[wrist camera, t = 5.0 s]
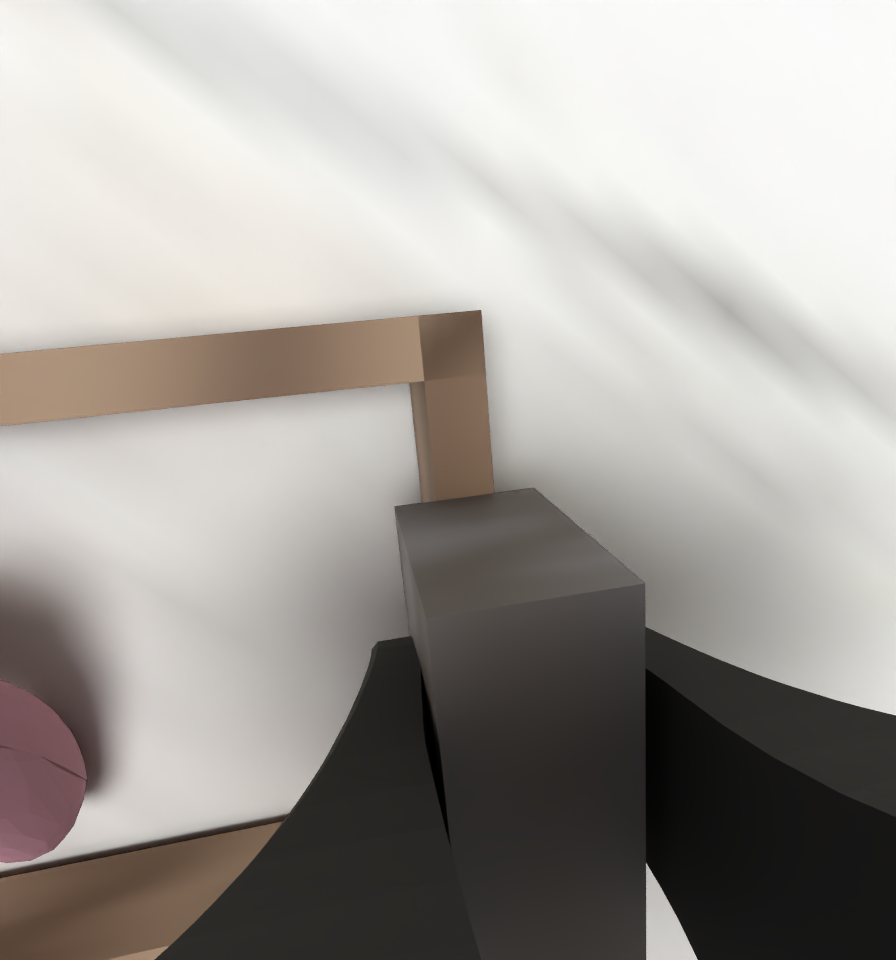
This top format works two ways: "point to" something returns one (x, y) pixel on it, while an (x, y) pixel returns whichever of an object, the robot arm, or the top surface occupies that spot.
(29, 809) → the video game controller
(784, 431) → the top surface
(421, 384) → the sliding frame
